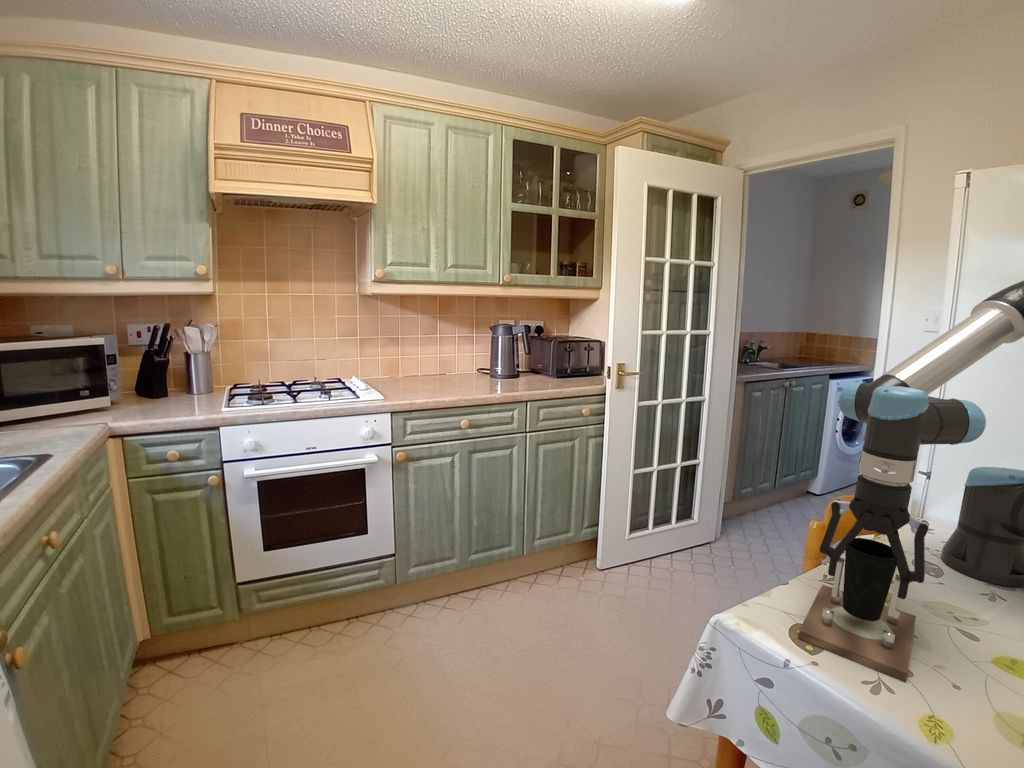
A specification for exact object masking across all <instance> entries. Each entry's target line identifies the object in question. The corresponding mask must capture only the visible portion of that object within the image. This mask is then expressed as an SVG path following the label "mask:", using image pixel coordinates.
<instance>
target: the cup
mask: <svg viewBox="0 0 1024 768" xmlns="http://www.w3.org/2000/svg"><path fill="white" fill-rule="evenodd" d="M844 553H845V557H844V558H845V559H844V572H843V574H844V575H843V588H842V589H843V590H842V591H843V608H844V610H845V611H846V612H848V613H849V614H851V615H852V616H854V617H857V618H859V619H862V620H867V621H877V620H879V619H880V617H881V614H882V610H883V607H884V605H885V603H886V601H887V597H888V594H889V591H890V589H891V588H890V587H891V585H892V582H893V579H894V576H895V572H896V569H897V565H896V562H897V559H898V558H897V557H895V558H894V556H893V552H892V549H891V546H890V545H888V544H885V543H883V542H881V541H877V540H874V539H869V538H863V537H855V539H854V540H853V541H852V542H851V544H850V545H849V544H848V543H847V545H846V550H845V551H844Z"/></svg>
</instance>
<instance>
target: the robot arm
mask: <svg viewBox="0 0 1024 768" xmlns="http://www.w3.org/2000/svg"><path fill="white" fill-rule="evenodd" d="M970 311H971V312H970V316H968V317H967V318H965V319H963V320H962V321H961V322H959V323H958V324H956V325H954V326H953V327H952V328H950V329H949V330H947V331H945V332H944V333H943V334H941V335H939V336H937V338H935V339H934V340H933V341H931V342H929V343H927V344H926V345H925V346H923V347H922V348H921V349H919V350H917V351H916V352H915V353H913V354H911V355H910V356H909V357H907V358H905V359H904V360H902V361H901V362H900V363H898V364H897V365H895V366H894V367H893V368H891V369H889V370H888V371H886V372H885V373H883V374H882V375H880V376H879V377H878V378H876V379H874V380H873V381H871V382H870V383H869V382H866V381H861V382H860V381H855V382H850V383H848V384H847V385H845V387H844V388H843V389H842V391H841V392H840V394H839V397H838V406H839V410H840V412H841V413H842V414H843V415H844V416H845V417H847V418H850V419H852V420H854V421H857V422H859V423H862V424H866V426H865V427H866V428H865V433H864V438H863V439H864V440H863V441H864V442H863V445H862V449H861V455H860V462H859V467H858V471H859V473H860V474H859V475H857V479H856V486H855V491H854V496H853V499H851V500H850V501H843V500H841V499H840V498H839V499H838V498H835V499H834V500H833V501H832V503H831V504H830V505H831V506H830V507H831V516H830V519H829V522H828V525H827V528H826V531H825V532H824V535H823V538H822V541H821V544H820V547H819V552H820V553H821V554H825V555H827V556H828V557H829V564H828V570H827V573H828V575H829V576H831V577H834V580H833V584H832V585H833V586H832V588H833V590H832V596H834V597H837V595H838V592H839V589H841V587H840V586H841V581H842V576H843V569H844V566H845V557H841V556H842V555H843V554H844V553H845V552H846V545H847V543H848V544H849V545H850V544H851V542H852V541H853V540H854V539H855V538H857V537H858V535H859V534H860V533H861V532H862V530H863V531H864V530H865V531H869V532H876V533H877V534H880V535H883V536H886V537H887V541H888V543H889V546H890V547H891V549H892V552H893V556H894V558H895V557H897V558H898V559H897V562H896V565H897V566H896V569H897V571H898V573H896V574H895V577H894V583H893V587H892V592H891V596H890V597H891V598H890V603H889V607H890V608H889V613H888V616H891V617H894V612H895V608H896V607H897V601H898V599H901V600H905V599H906V598H907V597H908V591H909V585H910V583H912V582H914V583H915V582H916V583H918V584H923V583H924V582H925V575H926V572H925V571H926V567H925V566H926V563H925V562H926V561H925V557H926V556H925V553H926V552H925V551H926V550H925V537H926V535H927V533H928V531H929V526H930V523H929V522H928V521H927V520H923V519H922V520H919V519H917V518H915V517H913V516H911V515H910V513H909V505H910V501H911V500H910V499H911V495H912V489H913V488H912V485H911V483H913V482H914V478H915V474H916V468H917V462H918V457H919V456H918V455H919V450H920V446H921V445H924V446H925V445H952V446H953V445H954V446H955V445H960V444H965V443H971V442H973V441H976V440H977V439H979V438H980V437H981V436H982V435H983V433H984V432H985V429H986V425H987V422H986V421H987V420H986V415H985V413H984V411H983V410H982V408H980V406H979V405H978V404H977V403H974V402H973V401H970V400H967V399H958V398H949V399H945V398H939V397H936V396H935V397H933V396H929V395H930V394H931V393H933V392H934V391H937V389H939V388H940V387H942V386H943V385H944V384H946V383H948V382H949V381H951V380H952V379H953V378H955V377H956V376H958V375H960V373H962V372H964V371H965V370H967V369H968V368H970V367H971V366H973V365H974V364H975V363H977V362H978V361H980V360H981V359H982V358H984V357H986V356H987V355H988V354H990V353H992V352H993V351H995V350H996V349H997V348H999V347H1000V346H1001V345H1003V344H1012V343H1015V342H1017V341H1019V340H1021V339H1022V338H1024V280H1021V281H1019V282H1016V283H1014V284H1011V285H1009V286H1007V287H1006V288H1005V287H1004V288H1003V289H1001V290H999V291H997V292H996V293H993V294H991V295H990V296H989V297H987V298H986V299H983V300H982V301H981V302H979V303H977V304H976V305H975V306H974V307H973V308H972V310H970ZM963 485H964V490H963V495H962V500H961V506H960V511H959V515H958V522H957V527H956V528H955V530H954V531H953V532H952V534H951V535H950V537H949V538H948V539H947V541H946V542H945V543H944V545H943V546H942V550H941V553H940V559H941V560H942V562H943V563H944V564H946V565H947V566H948V567H950V568H951V569H953V570H955V571H957V572H959V573H961V574H964V575H966V576H969V577H970V578H974V579H977V580H979V581H983V582H985V583H990V584H994V585H998V586H1003V587H1004V586H1005V587H1012V588H1013V587H1014V588H1022V587H1023V588H1024V470H1023V469H1016V468H1011V467H1010V468H1007V467H1000V466H999V467H996V466H979V467H978V466H977V467H974V468H972V469H971V470H969V472H968V474H967V477H966V482H965V483H964V484H963ZM847 510H850V511H851V513H852V515H853V516H854V518H855V520H856V521H855V522H854V524H853V525H852V526H851V527H850V529H849V530H848V531H847V532H846V534H845V535H844V536H843V538H842V539H841V540H840V541H839V542H838V543H837V545H836V546H835V547H833V546H831V544H832V542H833V539H834V537H835V533H836V531H837V528H838V525H839V523H840V520H841V517H842V515H845V514H846V512H847ZM905 525H909V526H910V531H911V532H912V533H913V534H914V537H913V539H914V540H913V541H914V543H913V545H914V546H913V547H914V549H913V550H914V552H913V553H914V554H913V555H914V558H913V559H914V570H910V568H909V564H908V561H907V558H906V555H905V551H904V548H903V546H902V541H901V538H900V534H899V530H900V529H901V528H903V527H904V526H905Z"/></svg>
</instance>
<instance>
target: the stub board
mask: <svg viewBox="0 0 1024 768" xmlns="http://www.w3.org/2000/svg"><path fill="white" fill-rule="evenodd" d="M832 590H833V587H831V586H828V585H825V584H822V585H821V587H820V588H819V591H818V593H817V594H816V597H815V598H814V600H813V603H812V605H811V606H810V608H809V610H808V613H807V615H806V616H805V618H804V620H803V623H802V625H801V626H800V628H799V631H798V636H797V639H798V638H799V640H800V641H804V642H805V643H808V644H810V643H811V645H813V644H814V645H813V646H815V645H816V647H818V646H819V647H818V648H820V647H821V648H820V649H823V648H824V649H823V650H825V649H826V651H828V650H829V651H828V652H830V651H831V653H833V654H836V655H838V656H840V657H842V656H843V657H842V658H845V657H846V658H845V659H847V658H848V660H850V661H851V662H855V663H858V664H860V665H862V666H865V667H868V668H870V669H873V670H875V671H878V672H879V673H882V674H885V675H887V676H890V677H891V678H894V677H895V679H897V680H899V679H900V680H899V681H902V680H903V681H902V682H904V681H905V682H904V683H907V677H908V672H909V665H910V660H911V653H912V646H913V645H912V644H913V640H914V639H913V638H914V631H915V626H916V618H917V617H916V616H917V615H914V614H910V613H908V612H905V611H902V610H899V609H898V608H896V607H895V612H894V617H891V616H888V613H889V608H890V606H887V605H885V604H884V607H883V610H882V614H881V617H880V619H879V620H877V621H867V620H862V619H859V618H857V617H854V616H852V615H851V614H849V613H848V612H846V611H845V610H844V608H843V590H841V588H839V592H838V595H837V597H834V596H832Z"/></svg>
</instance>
